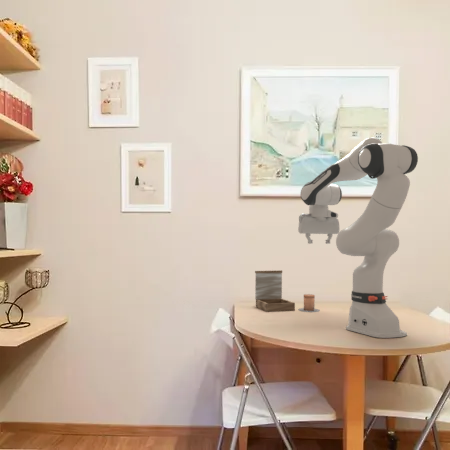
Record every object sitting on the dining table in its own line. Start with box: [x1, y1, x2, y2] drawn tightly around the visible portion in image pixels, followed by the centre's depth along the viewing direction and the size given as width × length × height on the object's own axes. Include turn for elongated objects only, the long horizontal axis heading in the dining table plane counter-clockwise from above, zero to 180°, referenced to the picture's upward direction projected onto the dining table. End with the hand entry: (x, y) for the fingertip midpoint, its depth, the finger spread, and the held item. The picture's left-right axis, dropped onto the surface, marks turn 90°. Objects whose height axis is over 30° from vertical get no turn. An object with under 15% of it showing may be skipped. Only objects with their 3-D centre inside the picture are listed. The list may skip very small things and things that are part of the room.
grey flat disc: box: [298, 307, 321, 313], centre depth 195 cm, size 10×10×1 cm
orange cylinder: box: [303, 293, 316, 311], centre depth 195 cm, size 5×5×7 cm
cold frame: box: [254, 270, 296, 313], centre depth 199 cm, size 15×14×18 cm
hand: (319, 243), depth 192 cm, fingers open, 8 cm apart
